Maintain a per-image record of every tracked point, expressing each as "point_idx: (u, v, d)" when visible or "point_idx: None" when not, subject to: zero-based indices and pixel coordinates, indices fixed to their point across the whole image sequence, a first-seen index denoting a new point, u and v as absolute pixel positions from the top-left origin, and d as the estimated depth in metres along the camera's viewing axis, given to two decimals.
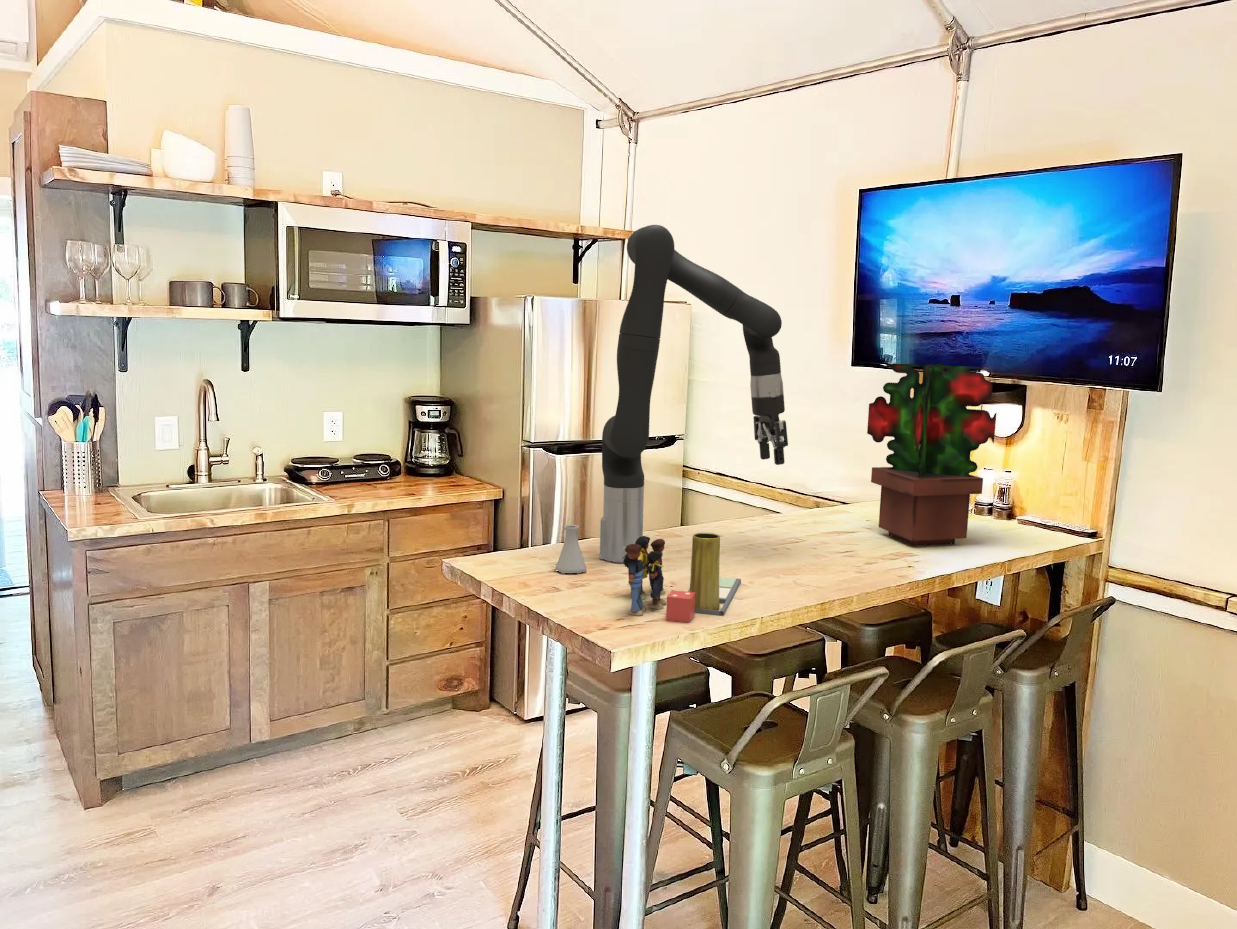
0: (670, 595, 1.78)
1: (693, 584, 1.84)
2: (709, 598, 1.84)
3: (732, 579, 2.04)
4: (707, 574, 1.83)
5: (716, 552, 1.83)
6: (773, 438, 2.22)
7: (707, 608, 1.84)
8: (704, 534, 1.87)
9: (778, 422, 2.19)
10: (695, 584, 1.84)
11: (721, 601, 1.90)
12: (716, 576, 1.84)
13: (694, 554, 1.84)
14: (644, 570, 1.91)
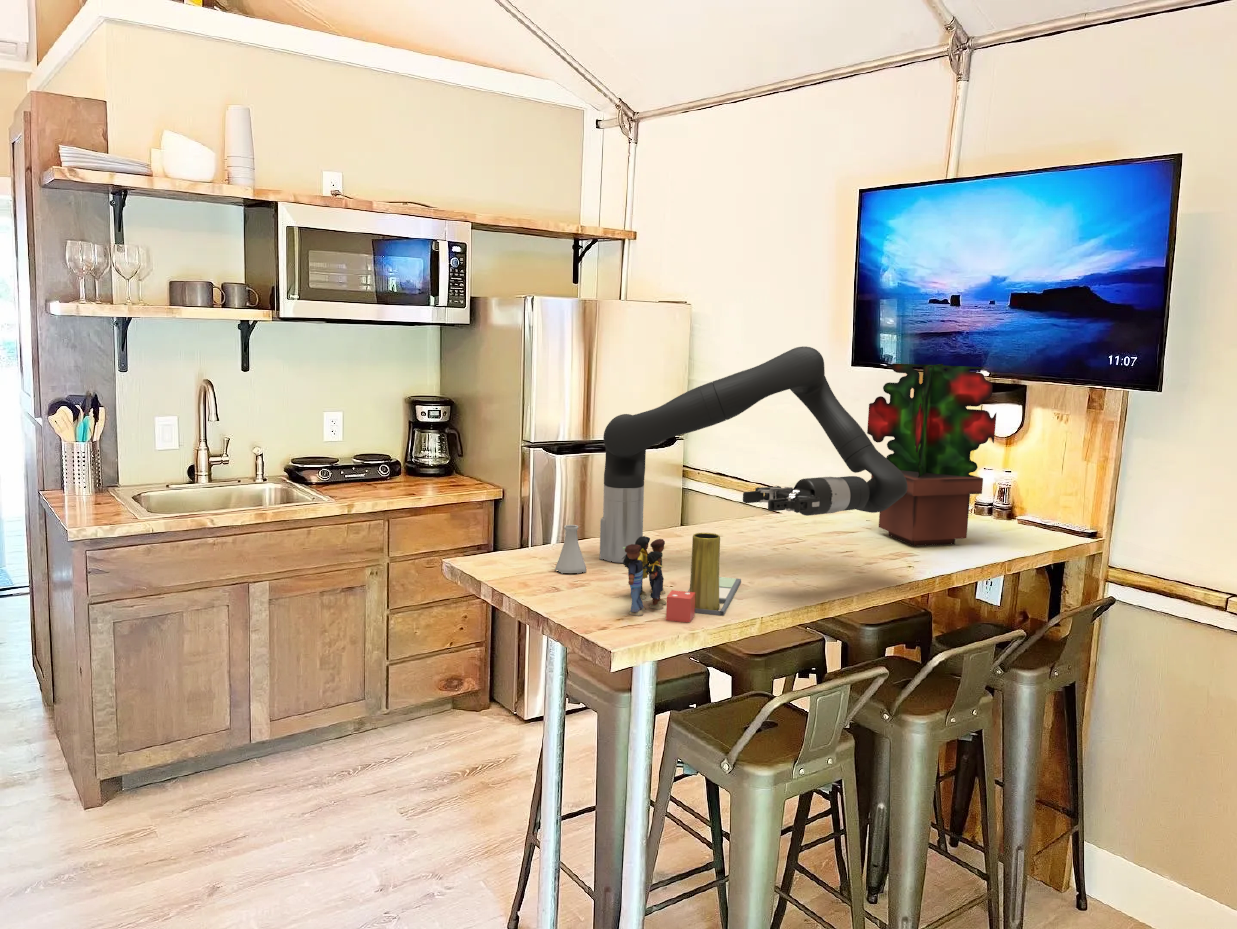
0: (670, 595, 1.78)
1: (693, 584, 1.84)
2: (709, 598, 1.84)
3: (732, 579, 2.04)
4: (707, 574, 1.83)
5: (716, 552, 1.83)
6: (794, 497, 1.88)
7: (707, 608, 1.84)
8: (704, 534, 1.87)
9: (819, 501, 1.87)
10: (695, 584, 1.84)
11: (721, 601, 1.90)
12: (716, 576, 1.84)
13: (694, 554, 1.84)
14: (644, 570, 1.91)
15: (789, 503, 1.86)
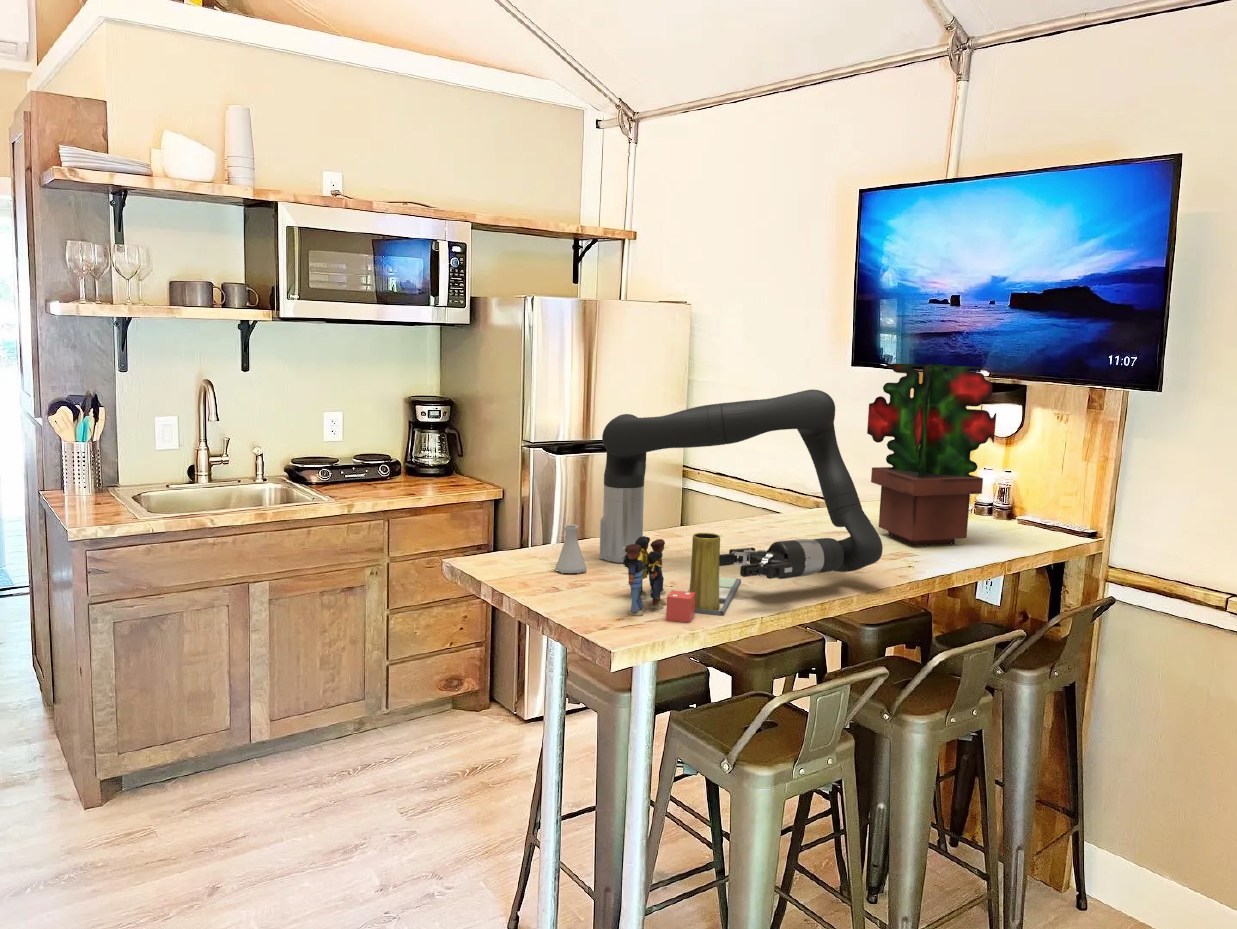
0: (670, 595, 1.78)
1: (693, 584, 1.84)
2: (709, 598, 1.84)
3: (732, 579, 2.04)
4: (707, 574, 1.83)
5: (716, 552, 1.83)
6: (767, 563, 1.87)
7: (707, 608, 1.84)
8: (704, 534, 1.87)
9: (791, 566, 1.87)
10: (695, 584, 1.84)
11: (721, 601, 1.90)
12: (716, 576, 1.84)
13: (694, 554, 1.84)
14: (644, 570, 1.91)
15: (761, 569, 1.85)
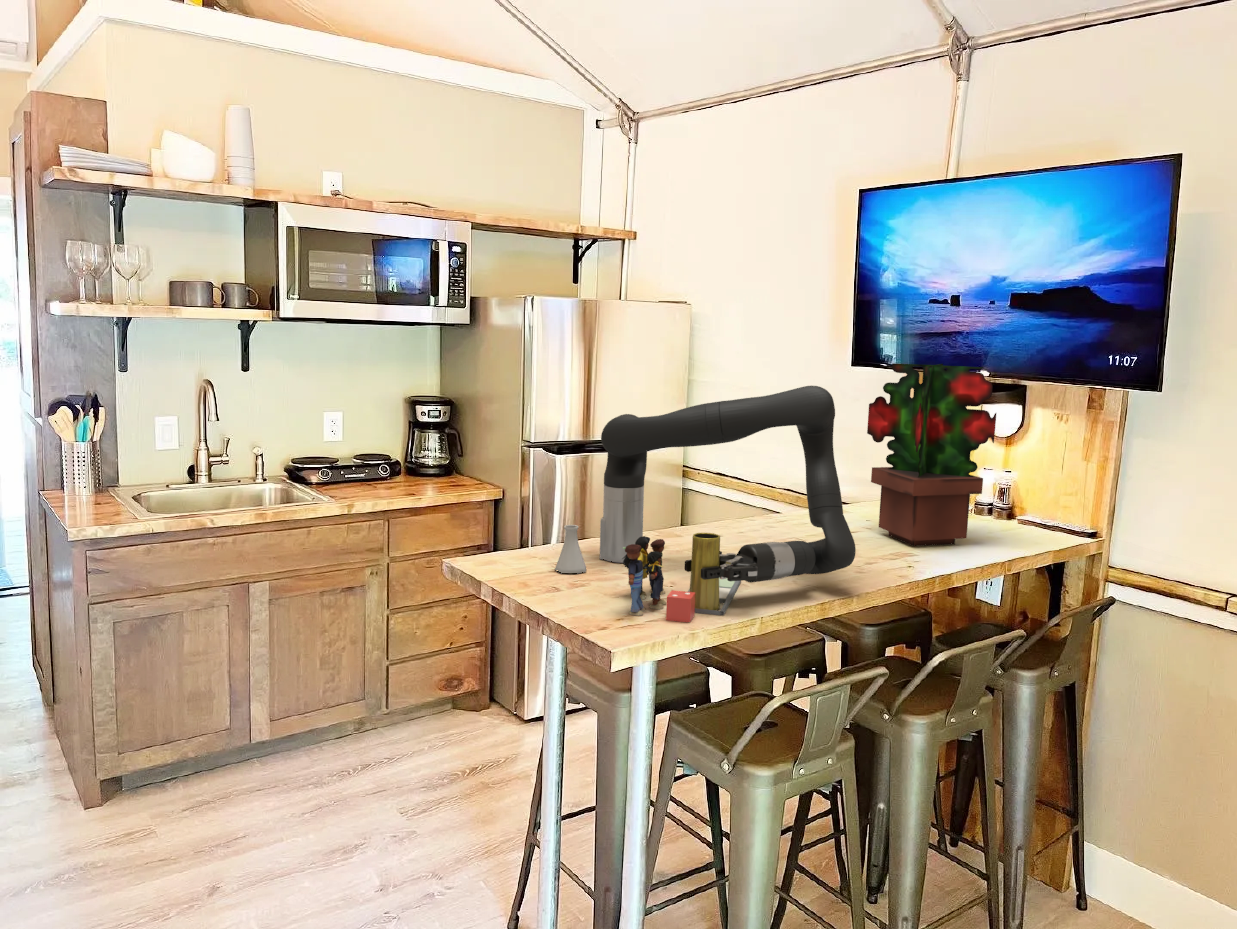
0: (670, 595, 1.78)
1: (693, 584, 1.84)
2: (709, 598, 1.84)
3: None
4: None
5: (716, 552, 1.83)
6: (730, 565, 1.84)
7: (707, 608, 1.84)
8: (704, 534, 1.87)
9: (756, 570, 1.83)
10: (695, 584, 1.84)
11: (721, 601, 1.90)
12: None
13: (694, 554, 1.84)
14: (644, 570, 1.91)
15: (722, 571, 1.82)
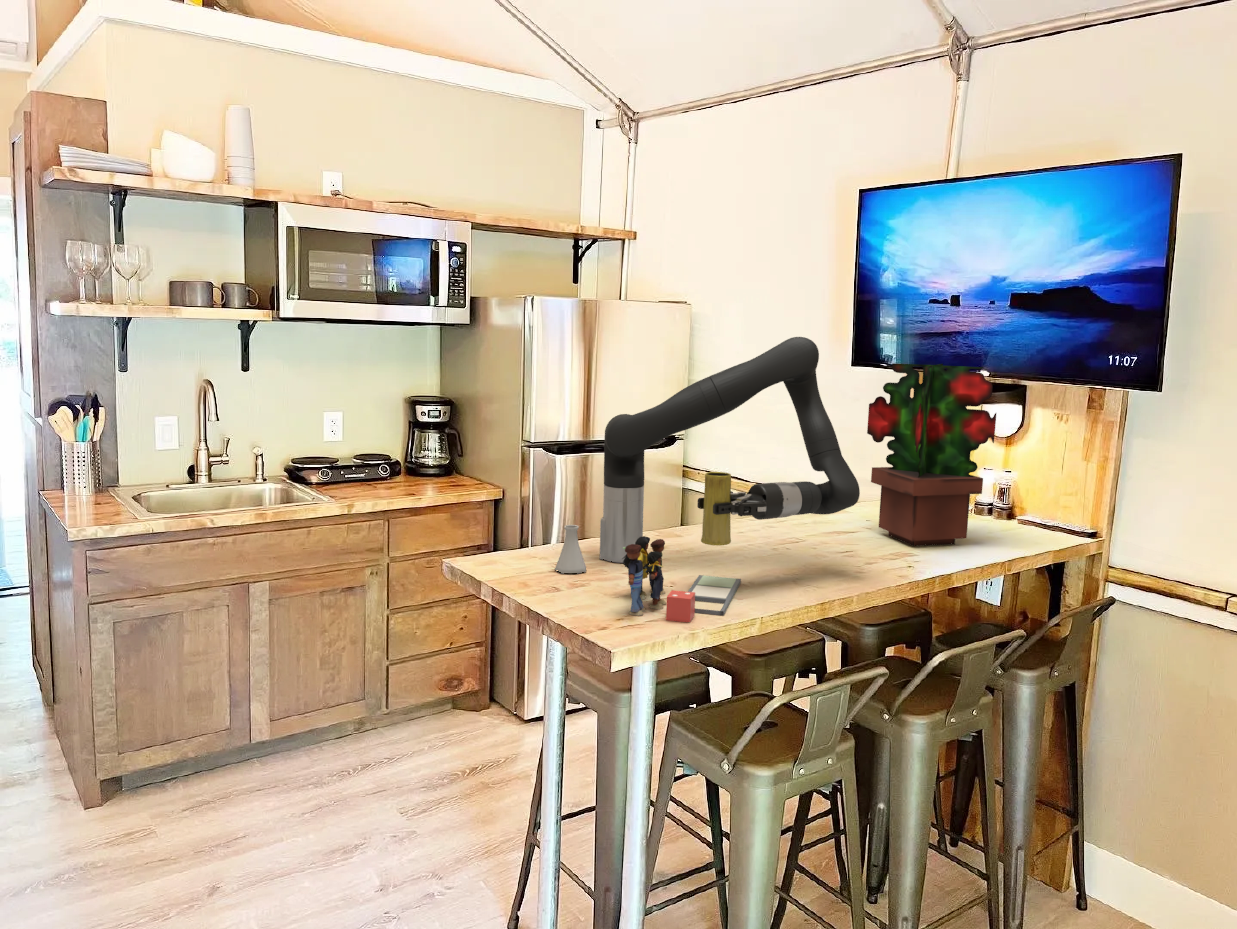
0: (670, 595, 1.78)
1: (706, 520, 1.96)
2: (721, 532, 1.95)
3: (732, 579, 2.04)
4: None
5: (727, 489, 1.94)
6: (741, 502, 1.95)
7: (719, 542, 1.95)
8: (715, 473, 1.98)
9: (765, 506, 1.94)
10: (707, 519, 1.95)
11: (721, 601, 1.90)
12: None
13: (706, 491, 1.95)
14: (644, 570, 1.91)
15: (733, 507, 1.93)
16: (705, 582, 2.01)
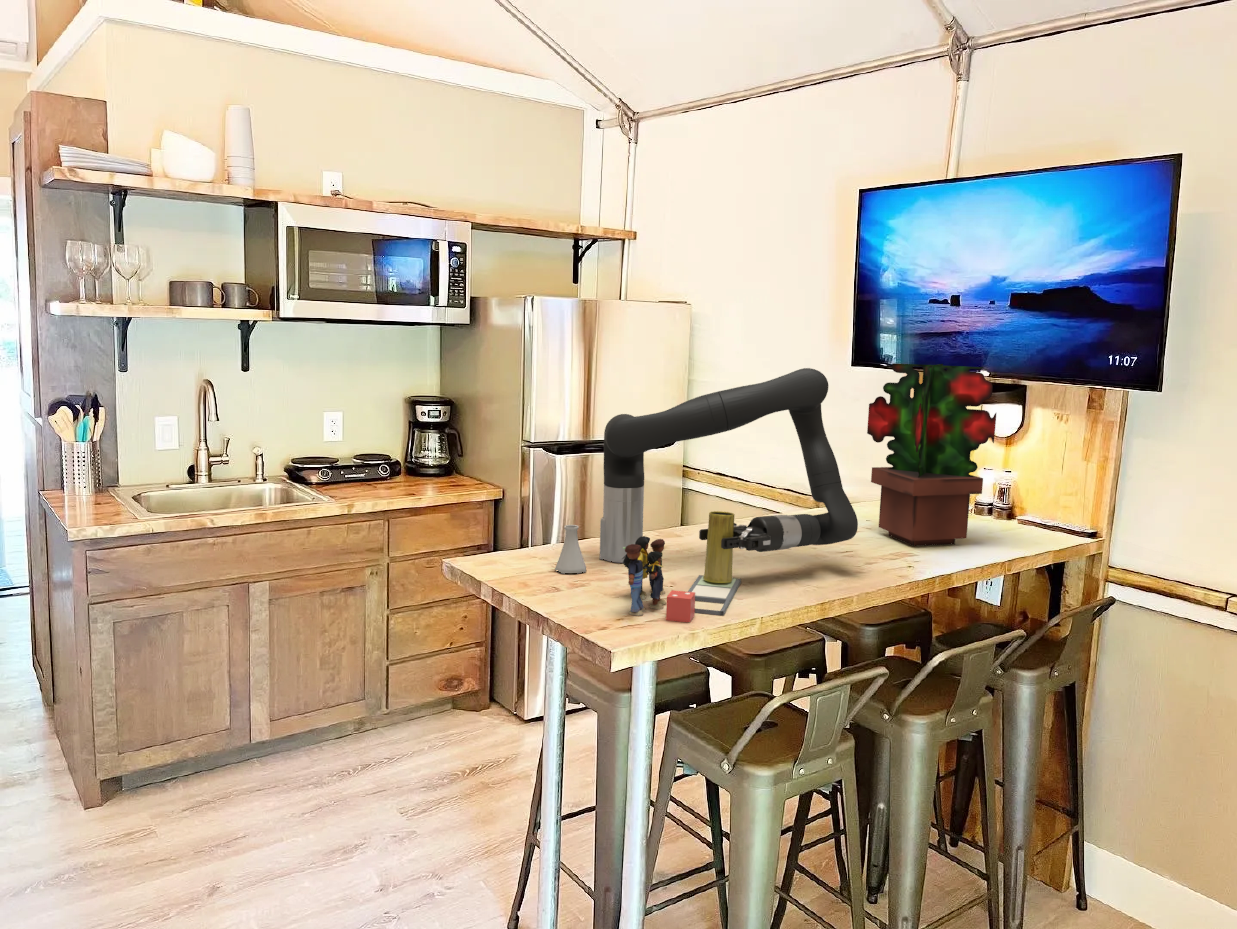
0: (670, 595, 1.78)
1: (708, 557, 2.00)
2: (723, 570, 1.99)
3: (732, 579, 2.04)
4: (722, 548, 1.99)
5: (731, 529, 1.99)
6: (747, 536, 1.99)
7: (721, 580, 1.99)
8: (719, 512, 2.03)
9: (770, 539, 1.98)
10: (710, 557, 2.00)
11: (721, 601, 1.90)
12: (730, 550, 2.00)
13: (710, 530, 2.00)
14: (644, 570, 1.91)
15: (741, 541, 1.96)
16: (705, 582, 2.01)
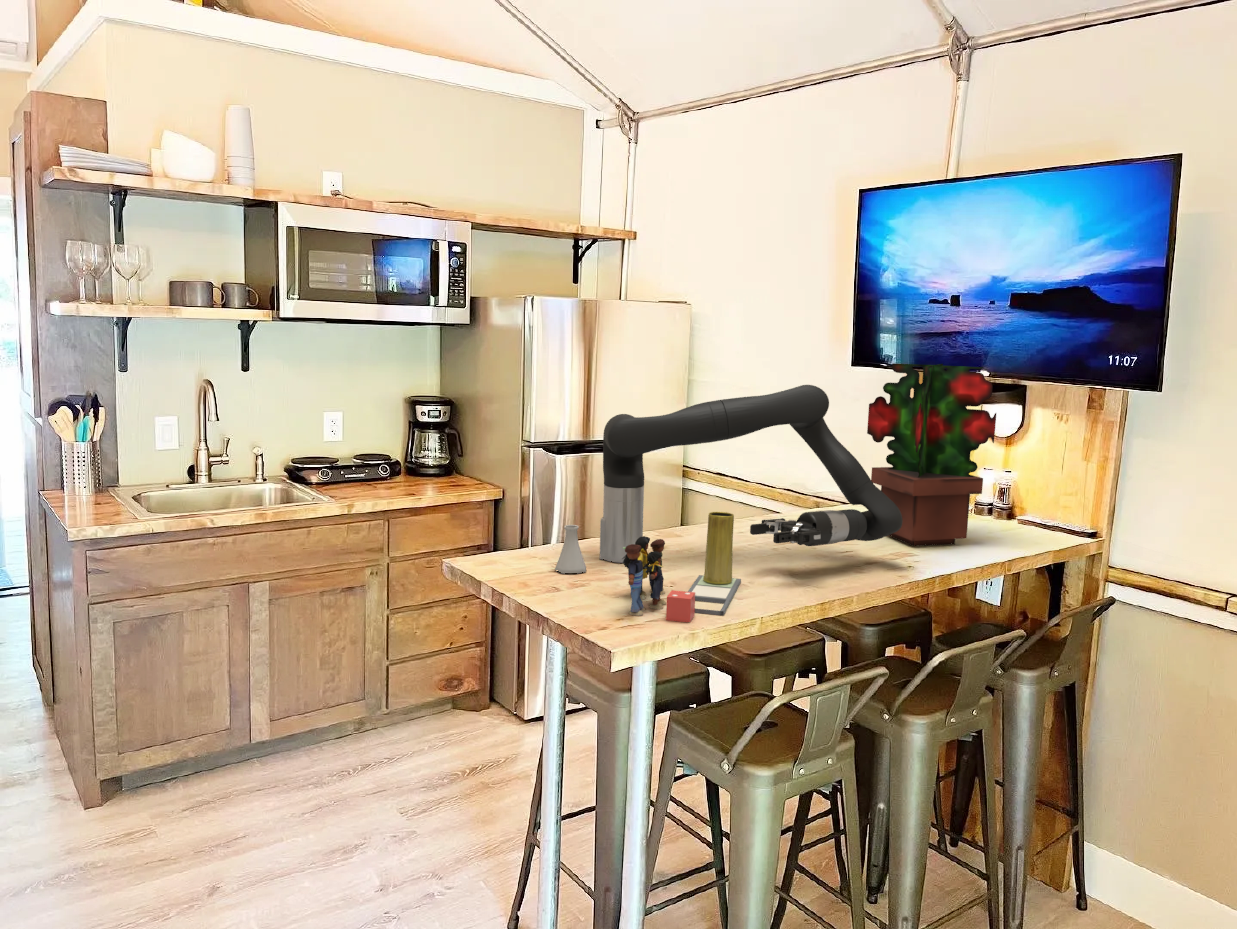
0: (670, 595, 1.78)
1: (708, 558, 2.00)
2: (723, 571, 1.99)
3: (732, 579, 2.04)
4: (721, 549, 1.98)
5: (730, 530, 1.99)
6: (798, 531, 2.04)
7: (721, 581, 1.99)
8: (719, 513, 2.02)
9: (820, 534, 2.04)
10: (710, 558, 2.00)
11: (721, 601, 1.90)
12: (729, 551, 1.99)
13: (709, 531, 1.99)
14: (644, 570, 1.91)
15: (793, 536, 2.02)
16: (705, 582, 2.01)
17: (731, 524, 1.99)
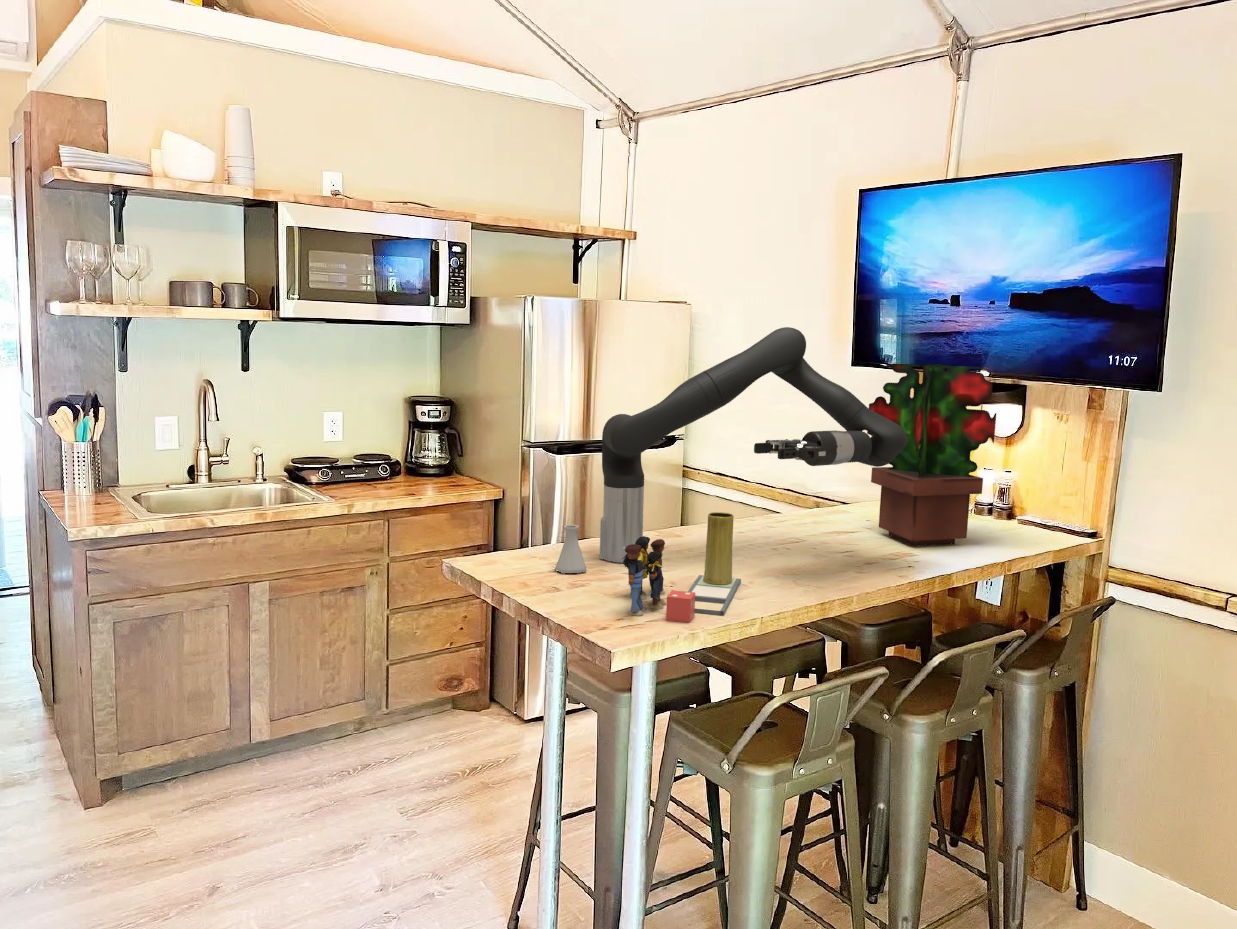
0: (670, 595, 1.78)
1: (708, 559, 2.00)
2: (723, 572, 1.99)
3: (732, 579, 2.04)
4: (721, 550, 1.98)
5: (729, 530, 1.98)
6: (802, 447, 2.02)
7: (720, 581, 1.99)
8: (718, 513, 2.02)
9: (825, 450, 2.01)
10: (710, 559, 1.99)
11: (721, 601, 1.90)
12: (729, 552, 1.99)
13: (709, 531, 1.99)
14: (644, 570, 1.91)
15: (797, 452, 2.00)
16: (705, 582, 2.01)
17: (731, 525, 1.99)
